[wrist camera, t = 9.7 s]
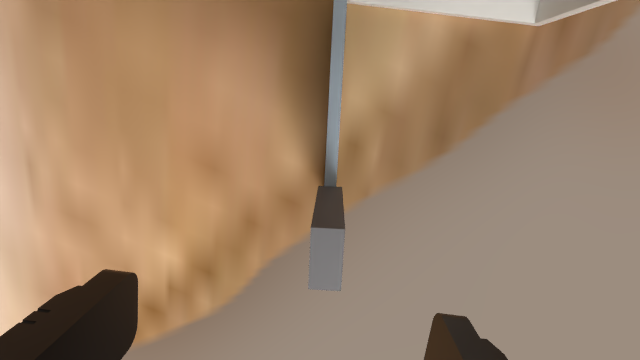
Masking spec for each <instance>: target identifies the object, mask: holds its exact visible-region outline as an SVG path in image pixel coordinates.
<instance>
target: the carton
mask: <svg viewBox="0 0 640 360" xmlns="http://www.w3.org/2000/svg"><path fill="white" fill-rule="evenodd" d="M613 1H616V0H347V3H349V4H357V5H365V6H374V7H382V8H390V9H399V10H407V11H416V12H424V13H432V14H441V15H449V16H458V17H466V18H474V19H483V20H491V21H499V22H508V23H516V24H525V25H533V26H541V25H544V24H547V23H550V22H553V21H556V20H559V19H562V18H565V17H568V16H571V15H574V14H577V13H580V12H583V11H586V10H589V9H592V8H595V7H598V6H601V5H604V4H607V3H610V2H613Z"/></svg>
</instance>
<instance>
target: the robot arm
mask: <svg viewBox="0 0 640 360" xmlns="http://www.w3.org/2000/svg"><path fill="white" fill-rule="evenodd" d="M137 323H138V278H137V275H136V274H135V273H131V272H123V271H115V270H108V269H105V270H102V271H101V272H100V273H98V274H97V275H96V276H94V277H93V278H92V279H91V280H89V281H88V282H87V283H85V284H84V285H83V286H76V287H74V288H72V289H69V290H67V291H65V292H62V293H60V294H58V295H56V296H54V297H53V298H52V299H50V300H49V301H47V302H46V303H45V304H43V305H42V306H41V307H39V308H38V310H37V311H34V312H33V313H31V314H30V315H29V316H27V317H26V318H25V319H23V322H22V323H18V324H16V325H15V326H14V327H12V328H11V329H10V330H8V331H7V332H6V333H4V334H3V335H2V336H0V360H121V359H122V357H123V356H124V355H125V354H126V352H127V351H128V350H129V348H130V347H131V345H132V343H133V340H134V338H135V335H136V331H137ZM424 360H508V359H507V358H506V356H505V355H504V354H503V353H502V352H501V351H500V350H499V349H497V348H496V347H495V346H494V345H493V344H492V343H491V342H489V341H488V340H487V339H481V338H480V337H479V336H478V334H477V332H476V331H475V329H474V327H473V326H472V324H471V323H470V321H469V320H468V318H467V317H465V316H456V315H448V314H442V313H437V314H436V315H435V316H434V318H433V322H432V326H431V331H430V335H429V339H428V344H427V348H426V353H425V357H424Z"/></svg>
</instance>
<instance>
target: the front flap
mask: <svg viewBox="0 0 640 360" xmlns="http://www.w3.org/2000/svg"><path fill="white" fill-rule="evenodd" d="M346 9H347V0H334V6H333V26H332V45H331V65H330V85H329V104H328V124H327V144H326V164H325V183H324V186H318V191H317V197H316V202H315V208H314V213H313V219H312V224H311V237H310V261H309V284H308V289H315V290H331V291H341V282H342V267H343V253H344V238H345V223H344V208H343V194H342V187H336V180H337V163H338V146H339V129H340V111H341V94H342V77H343V60H344V43H345V26H346Z"/></svg>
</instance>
